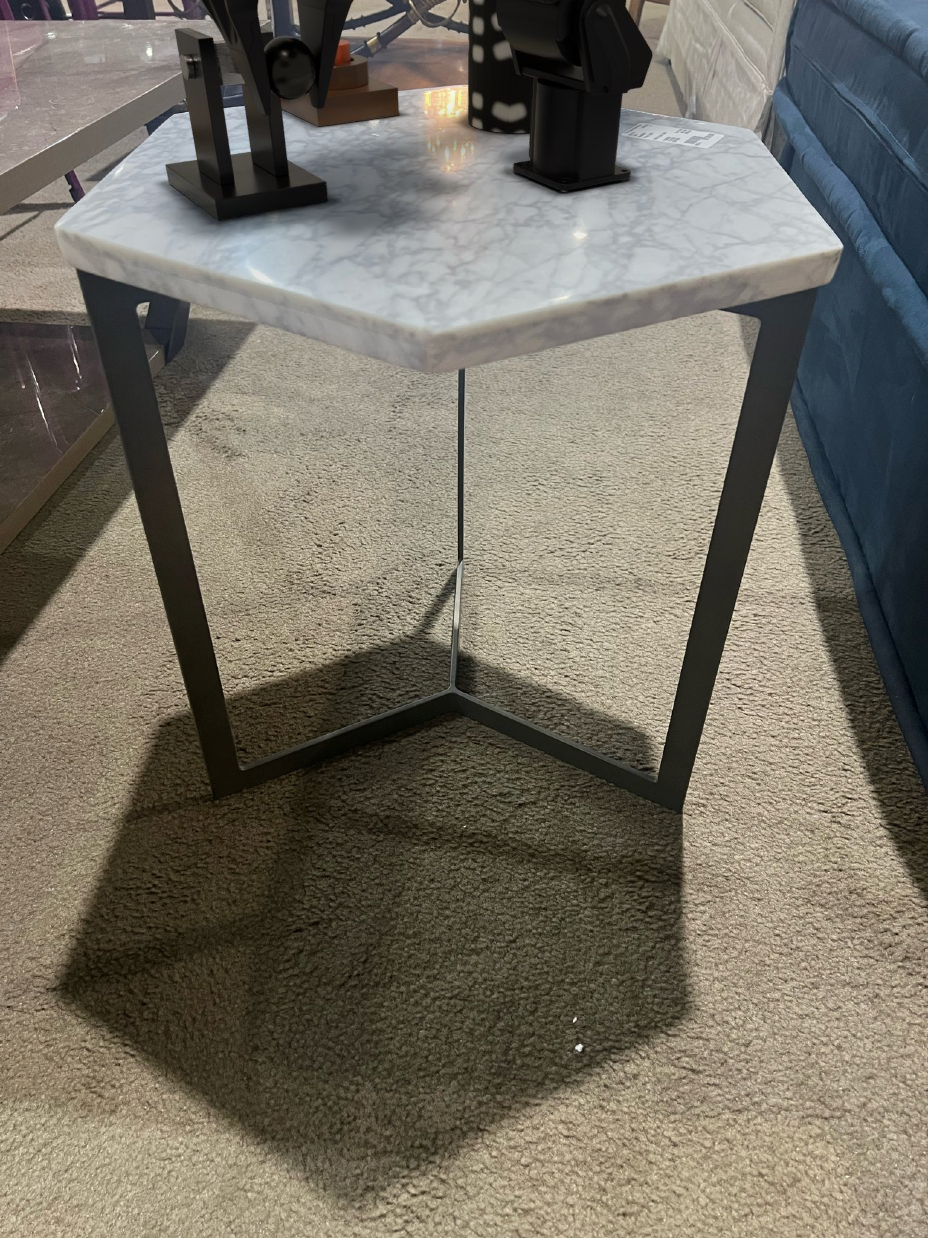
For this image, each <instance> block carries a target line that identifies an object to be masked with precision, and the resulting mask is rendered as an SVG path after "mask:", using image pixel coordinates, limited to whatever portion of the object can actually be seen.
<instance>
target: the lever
mask: <svg viewBox="0 0 928 1238" xmlns="http://www.w3.org/2000/svg"><path fill="white" fill-rule="evenodd" d="M214 46H215V53H216V60H217V66H218V73H219V80H220V86H221V87H231V86H239V85H240V86H242V84H245V82H244V80H243V78H242V75H241V73H240V71H239V69H238V67H237V65H236V63H235V61H234V59H233V57H232V55H231V53H230V51H229V49H228V47H227V45H226V43H225V41H224V39H220V40H219V39H218V40H214ZM264 51H265V57H266V63H267V69H268V75H269V81H270V87H271V92H272V93H273V94H275V95H276V96H278V97H279V98H282V99H285V100H297V99H300V98H302V97H304V96H305V95H307V94H308V93H309V92H310V90H311V89H312V87H313V85H314V83H315V79H316V72H317V70H316V62H315V59H314V56H313V54H312V52H311V51H310V49H309V48H308V47H307V46H306V44H304V43H303V42H302V41H301V39H299V38H297V37H294V36H292V35H280V36H277V37H274V39H273V40H272V41H270V42H269V43H268V44H267V45H266V47H265V48H264Z"/></svg>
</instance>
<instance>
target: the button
mask: <svg viewBox="0 0 928 1238" xmlns="http://www.w3.org/2000/svg"><path fill="white" fill-rule="evenodd" d="M350 54H351V42H350V41H349V40H346V39H341V38H340V42H339V46H338V50H337V55H336V59H335V64H342V63H349V62H351V55H350Z"/></svg>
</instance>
